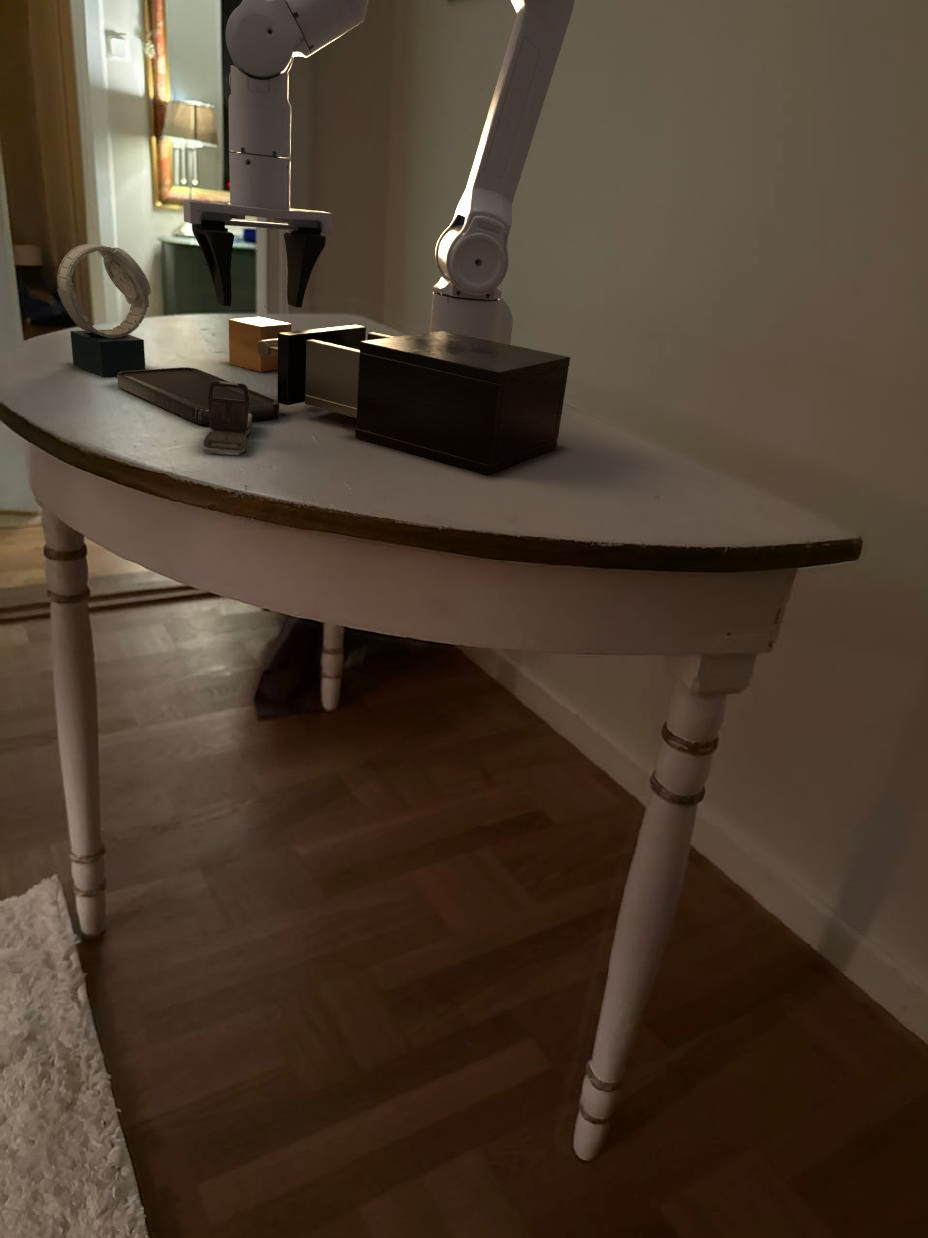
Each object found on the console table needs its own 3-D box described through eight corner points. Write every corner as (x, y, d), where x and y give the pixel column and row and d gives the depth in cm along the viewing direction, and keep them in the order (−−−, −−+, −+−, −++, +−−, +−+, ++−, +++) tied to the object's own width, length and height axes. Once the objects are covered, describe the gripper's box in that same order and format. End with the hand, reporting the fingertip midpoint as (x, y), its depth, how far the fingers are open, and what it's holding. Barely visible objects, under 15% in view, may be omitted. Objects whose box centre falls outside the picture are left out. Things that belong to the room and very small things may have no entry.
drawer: (238, 392, 77) (237, 323, 75) (316, 378, 85) (318, 316, 83) (384, 432, 70) (388, 358, 68) (454, 413, 78) (460, 346, 76)
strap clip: (214, 419, 71) (214, 366, 69) (253, 422, 71) (253, 369, 69) (201, 452, 63) (200, 394, 61) (244, 456, 64) (245, 398, 62)
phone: (201, 412, 69) (112, 371, 78) (202, 426, 69) (113, 384, 78) (285, 403, 74) (192, 366, 83) (285, 416, 74) (193, 378, 83)
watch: (164, 371, 85) (158, 249, 80) (84, 378, 80) (73, 247, 75) (133, 360, 88) (125, 242, 84) (54, 365, 83) (41, 239, 78)
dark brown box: (355, 437, 71) (359, 341, 68) (434, 416, 80) (442, 330, 77) (487, 475, 66) (499, 372, 62) (556, 448, 75) (570, 356, 71)
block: (259, 359, 95) (259, 316, 93) (291, 367, 93) (291, 323, 91) (229, 363, 92) (228, 319, 90) (261, 372, 90) (260, 326, 88)
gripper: (311, 161, 90) (308, 300, 96) (170, 145, 83) (176, 297, 89) (343, 165, 85) (337, 311, 91) (196, 147, 78) (200, 308, 84)
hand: (260, 305), depth 90 cm, fingers open, 7 cm apart
